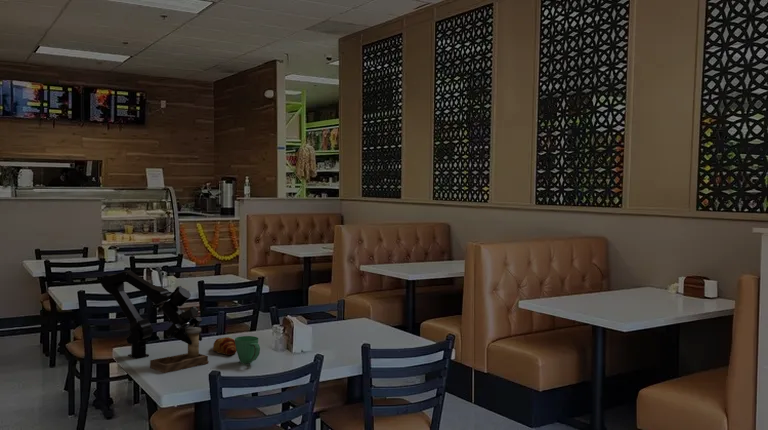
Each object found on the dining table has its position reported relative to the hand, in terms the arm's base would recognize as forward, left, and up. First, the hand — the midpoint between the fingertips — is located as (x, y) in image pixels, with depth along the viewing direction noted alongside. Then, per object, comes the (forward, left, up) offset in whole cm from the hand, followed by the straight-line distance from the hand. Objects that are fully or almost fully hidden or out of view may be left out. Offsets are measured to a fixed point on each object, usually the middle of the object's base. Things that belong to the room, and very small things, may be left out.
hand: (196, 342), depth 273 cm
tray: (-1, -7, -9) cm, 11 cm away
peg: (-1, -1, -8) cm, 8 cm away
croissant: (-8, +21, -9) cm, 24 cm away
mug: (+16, +15, -9) cm, 24 cm away
